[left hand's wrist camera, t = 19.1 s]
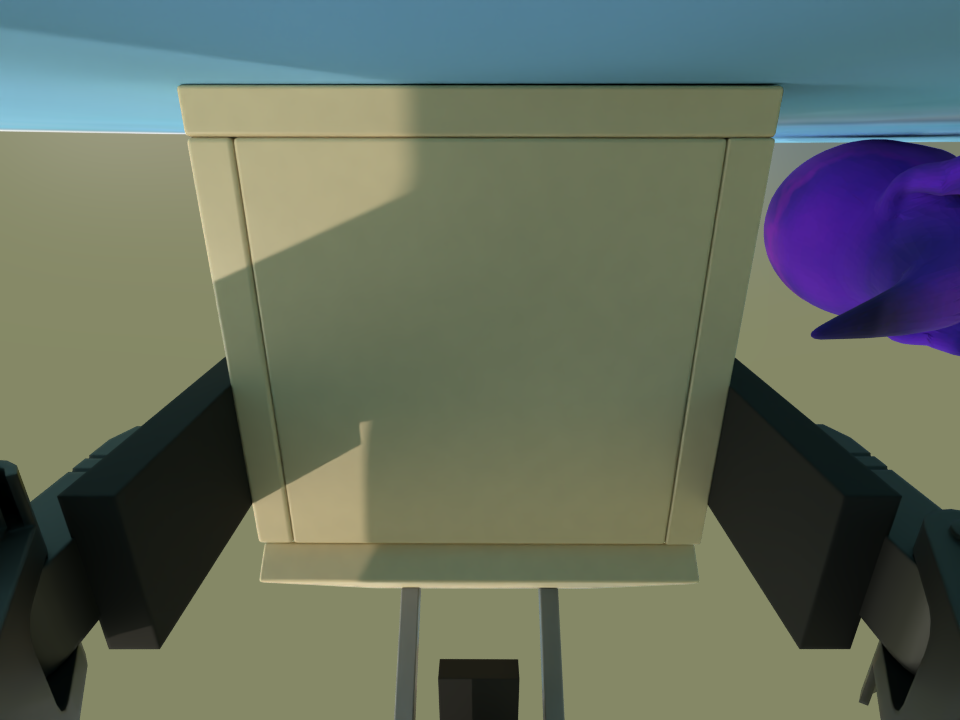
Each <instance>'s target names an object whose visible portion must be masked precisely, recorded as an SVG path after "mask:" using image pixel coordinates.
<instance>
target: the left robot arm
mask: <svg viewBox="0 0 960 720" xmlns="http://www.w3.org/2000/svg"><path fill="white" fill-rule="evenodd" d="M251 505H252V498H251V493H250V487H249V482H248V476H247V471H246V465H245V460H244V454H243V449H242V443H241V437H240V432H239V426H238V421H237V415H236V410H235V404H234V399H233V393H232V388H231V382H230V376H229V371H228V365H227V360H226V357H225V358H223V359H222V360H221V361H220V362H219V363H217V364H216V365H215V366H214V367H213V368H211V369H210V370H209V371H208V372H206V373H205V374H204V375H203V376H202V377H200V378H199V379H198V380H197V381H196V382H194V383H193V384H192V385H191V386H190V387H188V388H187V389H186V390H185V391H183V392H182V393H181V394H180V395H179V396H177V397H176V398H175V399H174V400H173V401H171V402H170V403H169V404H168V405H167V406H165V407H164V408H163V409H162V410H161V411H159V412H158V413H157V414H156V415H154V416H153V417H152V418H151V419H150V420H148V421H147V422H146V423H145V424H144V425H142V426H137V427H134V428H132V429H130V430H128V431H126V432H124V433H122V434H120V435H118V436H116V437H114V438H112V439H110V440H108V441H107V442H106V443H104V444H103V445H102V446H101V447H99V448H98V449H97V450H96V451H94V452H93V453H92V454H91V455H89V459H84V460H83V461H82V462H80V463H79V464H78V465H77V466H75V467H74V468H73V471H72V472H68V473H67V474H65V475H64V476H63V477H61V478H60V479H59V480H58V481H56V482H55V483H54V484H53V485H51V486H50V487H49V488H48V489H46V490H45V491H44V492H43V493H41V494H40V495H39V496H37V497H36V498H35V499H34V500H32V501H31V502H30V500H29V498H28V495H27V492H26V490H25V487H24V484H23V481H22V479H21V476H20V473H19V470H18V468H17V466H16V465H15V464H13V463H11V462H9V461H3V460H0V720H79V719H80V713H81V706H82V699H83V692H84V685H85V678H86V672H87V660H86V654H85V651H84V649H83V646H82V643H81V641H82V640H83V639H84V638H85V636H86V635H87V634H88V633H89V631H90V630H91V629H92V628H93V626H94V625H95V624H96V623H97V621H98V620H99V621H100V624H101V627H102V630H103V633H104V636H105V639H106V641H107V645H108V647H109V649H160V648H161V646H162V645H163V643H164V642H165V640H166V638H167V637H168V635H169V634H170V632H171V631H172V629H173V627H174V626H175V624H176V623H177V621H178V620H179V618H180V616H181V615H182V613H183V612H184V610H185V609H186V607H187V605H188V604H189V602H190V601H191V599H192V597H193V596H194V594H195V593H196V591H197V590H198V588H199V587H200V585H201V583H202V582H203V580H204V579H205V577H206V576H207V574H208V572H209V571H210V569H211V568H212V566H213V565H214V563H215V561H216V560H217V558H218V557H219V555H220V553H221V552H222V550H223V549H224V547H225V546H226V544H227V543H228V541H229V539H230V538H231V536H232V535H233V533H234V532H235V530H236V528H237V527H238V525H239V524H240V522H241V521H242V519H243V517H244V516H245V514H246V513H247V511H248V510H249V508H250V506H251ZM708 506H709V507H710V509H711V510H712V512H713V513H714V515H715V517H716V518H717V520H718V521H719V523H720V525H721V526H722V528H723V529H724V531H725V532H726V534H727V536H728V537H729V539H730V540H731V542H732V543H733V545H734V547H735V548H736V550H737V551H738V553H739V554H740V556H741V558H742V559H743V561H744V562H745V564H746V565H747V567H748V569H749V570H750V572H751V573H752V575H753V576H754V578H755V580H756V581H757V583H758V584H759V586H760V587H761V589H762V590H763V592H764V594H765V595H766V597H767V598H768V600H769V602H770V603H771V605H772V606H773V608H774V610H775V611H776V613H777V614H778V616H779V617H780V619H781V621H782V622H783V624H784V625H785V627H786V628H787V630H788V632H789V633H790V635H791V636H792V638H793V639H794V641H795V642H796V644H797V646H798V647H799V649H850V648H851V645H852V642H853V639H854V637H855V634H856V631H857V628H858V625H859V622H860V619H861V618H862V619H863V620H864V622H865V623H866V624H867V625H868V626H869V628H870V629H871V630H872V631H873V633H874V634H875V635H876V636H877V638H878V639H879V643H878V646H877V649H876V651H875V654H874V657H873V660H872V663H871V665H870V668H869V671H868V673H867V676H866V679H865V682H864V684H863V687H862V690H861V694H860V700H859V702H860V703H863V704H865V705H868V704H869V702H870V699H871V696H872V694H873V693H875V692H877V697H878V704H879V711H880V717H881V720H960V510H954V509H946V510H942V509H941V508H940V507H938V506H937V505H936V504H934V503H933V502H932V501H931V500H929V499H928V498H927V497H925V496H924V495H923V494H922V493H920V492H919V491H918V490H917V489H915V488H914V487H913V486H911V485H910V484H909V483H908V482H906V481H905V480H904V479H903V478H901V477H900V476H899V475H898V474H896V473H895V472H894V471H892V470H888V469H887V466H886V465H885V464H884V463H882V462H881V461H880V460H878V459H877V458H876V457H874V456H871V455H870V452H868V451H867V450H866V449H864V448H863V447H862V446H861V445H859V444H858V443H857V442H855V441H854V440H853V439H852V438H850V437H848V436H846V435H844V434H842V433H840V432H838V431H836V430H834V429H832V428H830V427H828V426H825V425H823V424H815V423H813V422H812V421H811V420H810V419H809V418H807V417H806V416H805V415H804V414H803V413H801V412H800V411H799V410H798V409H797V408H795V407H794V406H793V405H792V404H790V403H789V402H788V401H787V400H786V399H784V398H783V397H782V396H781V395H780V394H778V393H777V392H776V391H775V390H774V389H772V388H771V387H770V386H769V385H768V384H766V383H765V382H764V381H763V380H761V379H760V378H759V377H758V376H757V375H755V374H754V373H753V372H752V371H751V370H749V369H748V368H747V367H746V366H745V365H743V364H742V363H741V362H740V361H739V360H737V359H736V358H735V359H734V364H733V370H732V375H731V381H730V386H729V391H728V396H727V402H726V407H725V413H724V418H723V424H722V429H721V435H720V440H719V446H718V451H717V456H716V462H715V467H714V473H713V478H712V483H711V489H710V494H709V500H708Z"/></svg>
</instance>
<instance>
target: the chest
mask: <svg viewBox="0 0 960 720" xmlns="http://www.w3.org/2000/svg"><path fill="white" fill-rule="evenodd" d="M177 91H178V96H179V102H180V107H181V113H182V118H183V124H184V129H185V133H186V135H188V136H190V137H191V138H189V139H188V149H189V155H190V160H191V166H192V171H193V177H194V182H195V188H196V193H197V199H198V204H199V210H200V216H201V221H202V227H203V232H204V238H205V243H206V249H207V254H208V260H209V265H210V271H211V276H212V282H213V287H214V293H215V299H216V304H217V310H218V315H219V321H220V327H221V332H222V338H223V343H224V349H225V354H226V360H227V365H228V371H229V376H230V382H231V388H232V393H233V399H234V404H235V410H236V415H237V421H238V426H239V432H240V437H241V443H242V449H243V454H244V460H245V465H246V471H247V476H248V482H249V487H250V493H251V498H252V504H253V510H254V515H255V521H256V526H257V532H258V537H259V541H260V542H279V543H289V542H292V541H293V540H294V541H295V542H297V543H542V544H663V543H664V542H665V543H666V544H668V545H699V544H700V543H701V538H702V532H703V527H704V521H705V516H706V510H707V505H708V500H709V494H710V489H711V483H712V478H713V473H714V467H715V462H716V456H717V451H718V446H719V440H720V435H721V429H722V424H723V418H724V413H725V407H726V402H727V396H728V391H729V386H730V381H731V375H732V370H733V364H734V359H735V353H736V348H737V343H738V337H739V332H740V326H741V321H742V316H743V310H744V305H745V299H746V294H747V289H748V283H749V278H750V272H751V267H752V261H753V256H754V251H755V245H756V240H757V234H758V229H759V224H760V218H761V212H762V207H763V202H764V196H765V191H766V185H767V180H768V175H769V169H770V164H771V159H772V153H773V148H774V142H775V140H774V139H773V138H771V137H773V136H774V135H775V133H776V128H777V122H778V117H779V112H780V106H781V101H782V95H783V87H781V86H727V85H180V86H178V88H177Z"/></svg>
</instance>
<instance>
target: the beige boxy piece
mask: <svg viewBox="0 0 960 720" xmlns="http://www.w3.org/2000/svg"><path fill="white" fill-rule="evenodd" d="M260 581H261V582H268V583H287V584H307V585H327V586H347V587H367V588H402V589H401V606H400V624H399V642H398V660H397V678H396V696H395V714H394V720H415V715H416V692H417V668H418V645H419V621H420V597H421V588H539V615H540V642H541V670H542V697H543V720H564V700H563V680H562V660H561V640H560V620H559V600H558V589H559V588H562V589H565V588H566V589H586V588H609V587H631V586H654V585H675V584H676V585H677V584H697V583H698V582H699V576H698V569H697V562H696V555H695V548H694V545H668V544H666V543H663V544H542V543H297V542H289V543H279V542H267V543H266V544H265V547H264V553H263V560H262V566H261V573H260Z"/></svg>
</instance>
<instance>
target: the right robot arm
mask: <svg viewBox="0 0 960 720" xmlns="http://www.w3.org/2000/svg"><path fill="white" fill-rule="evenodd" d="M438 685H439V710H440V720H518V702H519V667H518V660H517V659H514V660H513V659H440V664H439V676H438Z"/></svg>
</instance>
